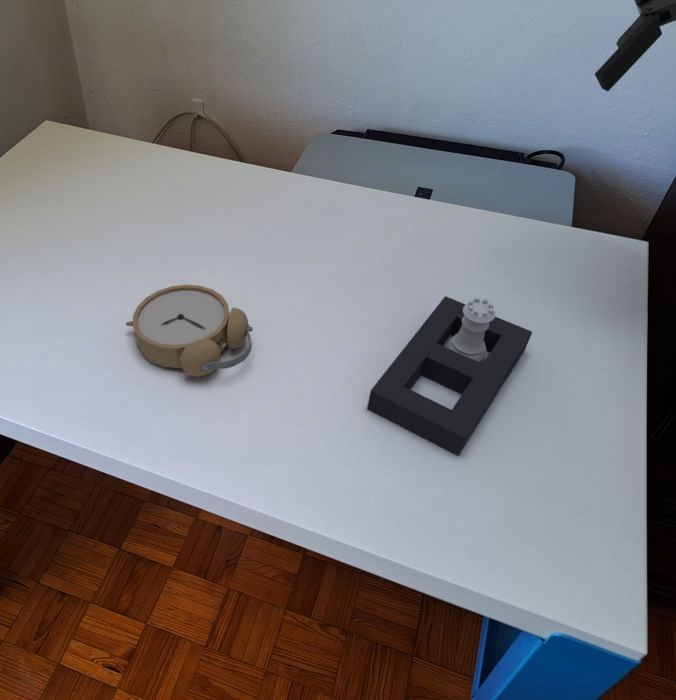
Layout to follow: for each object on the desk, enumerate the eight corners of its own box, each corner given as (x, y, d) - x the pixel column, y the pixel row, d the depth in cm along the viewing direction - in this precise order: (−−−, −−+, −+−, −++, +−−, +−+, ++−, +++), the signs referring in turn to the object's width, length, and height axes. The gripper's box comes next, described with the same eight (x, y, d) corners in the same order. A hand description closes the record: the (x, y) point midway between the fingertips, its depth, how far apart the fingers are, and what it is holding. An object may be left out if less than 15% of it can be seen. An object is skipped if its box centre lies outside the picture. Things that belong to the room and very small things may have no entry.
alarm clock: (176, 273, 84) (272, 307, 76) (183, 305, 87) (277, 341, 79) (110, 322, 79) (206, 365, 70) (121, 355, 82) (214, 400, 73)
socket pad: (524, 350, 77) (532, 331, 75) (458, 456, 68) (465, 438, 66) (440, 314, 82) (445, 295, 80) (366, 408, 72) (370, 390, 70)
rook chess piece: (459, 338, 79) (475, 285, 73) (492, 359, 76) (512, 306, 71) (434, 357, 77) (450, 304, 71) (468, 379, 75) (486, 326, 69)
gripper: (729, -167, 61) (545, 40, 68) (1075, -107, 45) (790, 156, 52) (739, -106, 66) (568, 80, 73) (1052, -33, 50) (796, 197, 57)
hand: (660, 112), depth 62 cm, fingers open, 13 cm apart
